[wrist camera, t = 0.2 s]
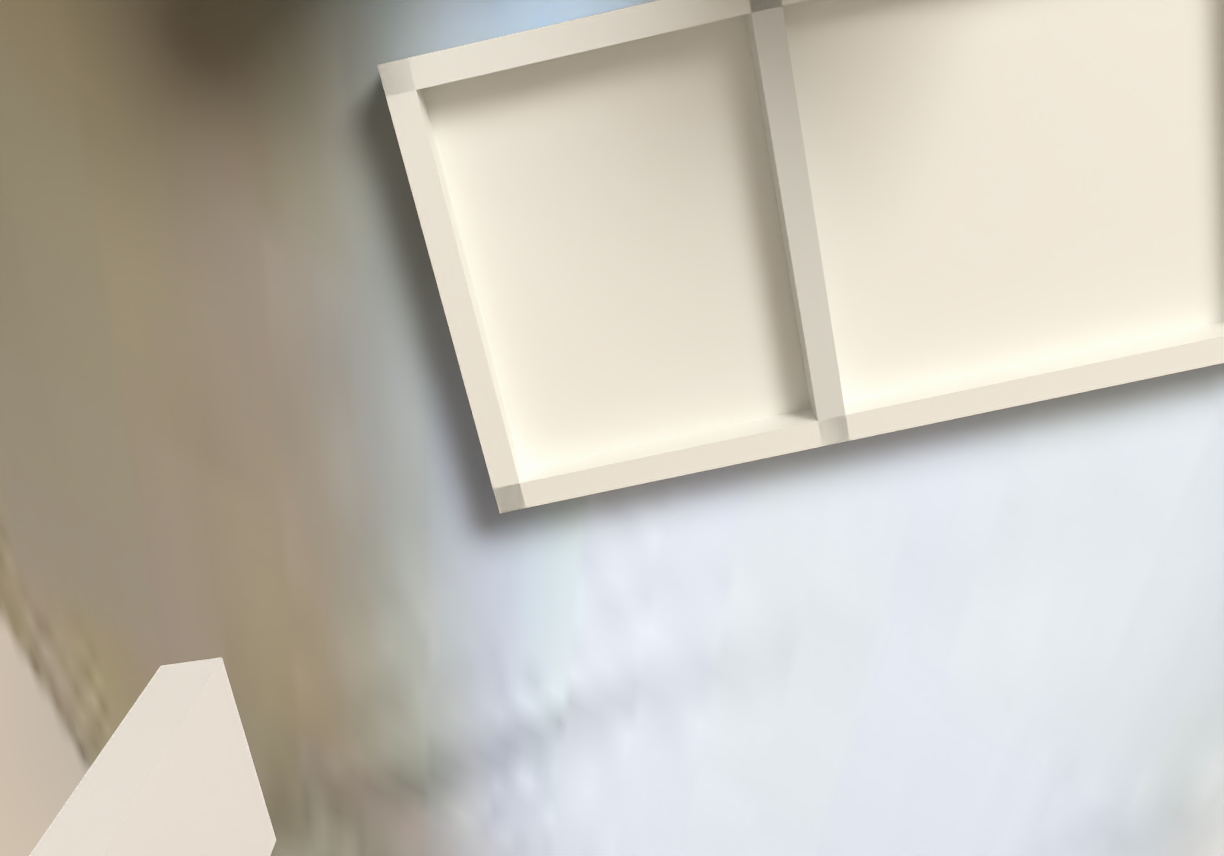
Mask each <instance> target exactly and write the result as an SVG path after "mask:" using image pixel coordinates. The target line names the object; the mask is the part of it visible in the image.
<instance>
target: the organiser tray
mask: <svg viewBox="0 0 1224 856" xmlns="http://www.w3.org/2000/svg"><path fill="white" fill-rule="evenodd" d="M377 66H378V70H379V73H380V77H381V81H382V84H383V88H384V92H385V95H386V99H387V103H388V106H389V110H390V114H391V117H392V121H393V125H394V128H395V132H396V136H397V139H398V143H399V147H400V150H401V154H402V158H403V161H404V165H405V169H406V172H407V176H408V180H409V183H410V187H411V191H412V194H413V198H414V202H415V205H416V209H417V213H418V216H419V220H420V224H421V227H422V231H423V235H424V238H425V242H426V246H427V249H428V253H429V257H430V260H431V264H432V267H433V271H434V275H435V278H436V282H437V286H438V289H439V293H440V297H441V300H442V304H443V308H444V311H445V315H446V319H447V322H448V326H449V330H450V333H451V337H452V341H453V344H454V348H455V352H456V355H457V359H458V363H459V366H460V370H461V374H462V377H463V381H464V385H465V388H466V392H467V396H468V399H469V403H470V407H471V410H472V414H473V418H474V421H475V425H476V429H477V432H478V436H479V440H480V443H481V447H482V451H483V454H484V458H485V462H486V465H487V469H488V473H489V476H490V480H491V484H492V487H493V491H494V495H495V498H496V502H497V506H498V509H499V513H504V512H509V511H514V510H519V509H524V508H528V507H533V506H538V505H543V504H548V503H552V502H557V501H562V500H567V499H572V498H577V497H581V496H586V495H591V494H596V493H601V492H605V491H610V490H615V489H620V488H625V487H629V486H634V485H639V484H644V483H649V482H653V481H658V480H663V479H668V478H673V477H678V476H682V475H687V474H692V473H697V472H702V471H706V470H711V469H716V468H721V467H726V466H730V465H735V464H740V463H745V462H750V461H755V460H759V459H764V458H769V457H774V456H779V455H783V454H788V453H793V452H798V451H803V450H807V449H812V448H817V447H822V446H827V445H831V444H836V443H841V442H846V441H851V440H856V439H860V438H865V437H870V436H875V435H880V434H884V433H889V432H894V431H899V430H904V429H908V428H913V427H918V426H923V425H928V424H933V423H937V422H942V421H947V420H952V419H957V418H961V417H966V416H971V415H976V414H981V413H985V412H990V411H995V410H1000V409H1005V408H1009V407H1014V406H1019V405H1024V404H1029V403H1034V402H1038V401H1043V400H1048V399H1053V398H1058V397H1062V396H1067V395H1072V394H1077V393H1082V392H1086V391H1091V390H1096V389H1101V388H1106V387H1111V386H1115V385H1120V384H1125V383H1130V382H1135V381H1139V380H1144V379H1149V378H1154V377H1159V376H1163V375H1168V374H1173V373H1178V372H1183V371H1187V370H1192V369H1197V368H1202V367H1207V366H1212V365H1216V364H1221V363H1224V0H657V1H652V2H648V3H644V4H639V5H635V6H631V7H626V8H622V9H618V10H614V11H609V12H605V13H601V14H596V15H592V16H588V17H583V18H579V19H575V20H570V21H566V22H562V23H557V24H553V25H549V26H544V27H540V28H536V29H531V30H527V31H523V32H518V33H514V34H510V35H505V36H501V37H497V38H492V39H488V40H484V41H479V42H475V43H471V44H466V45H462V46H458V47H454V48H449V49H445V50H441V51H436V52H432V53H428V54H423V55H419V56H415V57H410V58H406V59H402V60H397V61H393V62H389V63H384V64H380V65H377Z"/></svg>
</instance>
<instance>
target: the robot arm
mask: <svg viewBox="0 0 1224 856" xmlns="http://www.w3.org/2000/svg"><path fill="white" fill-rule="evenodd" d="M275 842H276V838H275V834H274V831H273V827H272V824H271V821H270V817H269V814H268V811H267V807H266V804H265V801H264V797H263V794H262V791H261V787H260V784H259V780H258V777H257V774H256V770H255V767H254V764H253V760H252V757H251V754H250V750H249V747H248V744H247V740H246V737H245V734H244V730H243V727H242V723H241V720H240V717H239V713H238V710H237V707H236V703H235V700H234V697H233V693H232V690H231V687H230V683H229V680H228V676H227V673H226V670H225V666H224V663H223V660H222V657H221V658H214V659H206V660H199V661H192V662H185V663H177V664H170V665H163V666H160V668H159V669H158V670H157V672H156V673H155V675H154V676H153V678H152V679H151V680H150V682H149V683H148V685H147V686H146V688H145V689H144V691H143V692H142V693H141V695H140V696H139V698H138V699H137V701H136V702H135V704H134V705H133V706H132V708H131V709H130V711H129V712H128V714H127V715H126V717H125V718H124V719H123V721H122V722H121V724H120V725H119V727H118V728H117V729H116V731H115V732H114V734H113V735H112V737H111V738H110V740H109V741H108V742H107V744H106V745H105V747H104V748H103V750H102V751H101V753H100V754H99V755H98V757H97V758H96V760H95V761H94V763H93V764H92V766H91V767H90V768H89V770H88V771H87V773H86V774H85V776H84V777H83V778H82V780H81V782H80V783H79V784H78V786H77V787H76V789H75V790H74V792H73V793H72V794H71V796H70V797H69V799H68V800H67V802H66V803H65V804H64V806H63V808H62V809H61V810H60V812H59V813H58V815H57V816H56V817H55V819H54V820H53V822H52V823H51V825H50V826H49V827H48V829H47V830H46V832H45V833H44V835H43V836H42V838H41V839H40V841H39V842H38V843H37V845H36V846H35V848H34V849H33V851H32V852H31V853H30V855H29V856H270V855H271V852H272V850H273V847H274V845H275Z"/></svg>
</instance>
